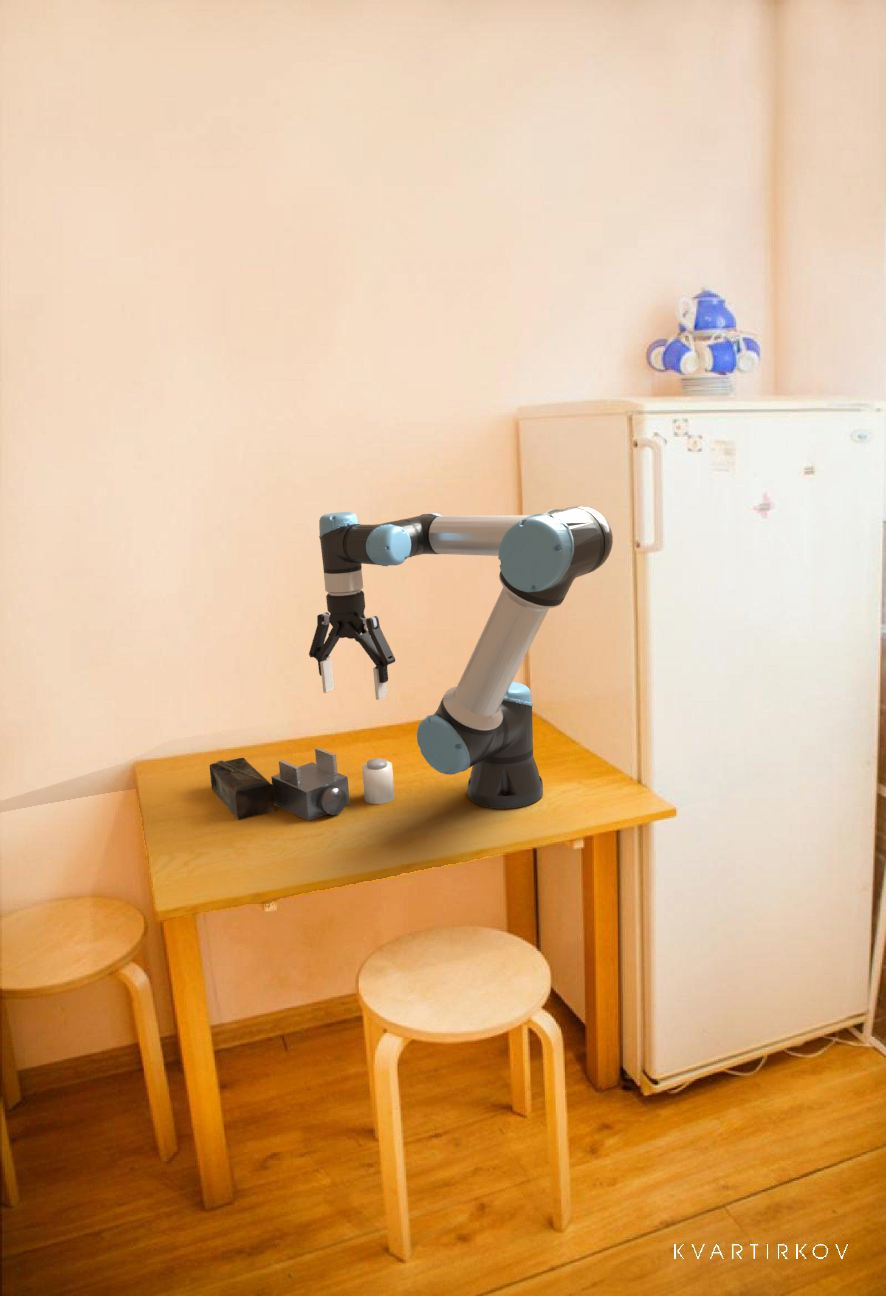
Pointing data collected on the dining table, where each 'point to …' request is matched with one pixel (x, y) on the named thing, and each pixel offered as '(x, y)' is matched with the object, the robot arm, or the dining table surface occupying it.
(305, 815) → the motor
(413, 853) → the dining table surface
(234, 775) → the beverage carton
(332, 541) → the robot arm
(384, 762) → the white cylindrical container
